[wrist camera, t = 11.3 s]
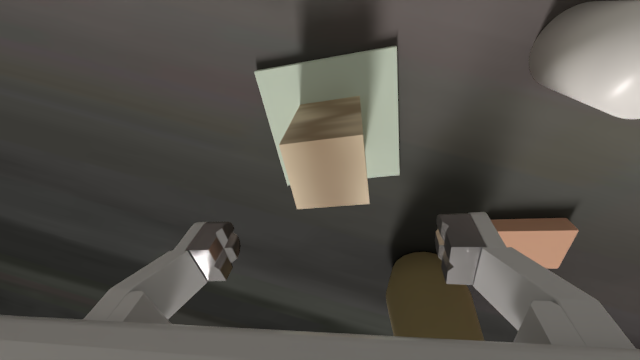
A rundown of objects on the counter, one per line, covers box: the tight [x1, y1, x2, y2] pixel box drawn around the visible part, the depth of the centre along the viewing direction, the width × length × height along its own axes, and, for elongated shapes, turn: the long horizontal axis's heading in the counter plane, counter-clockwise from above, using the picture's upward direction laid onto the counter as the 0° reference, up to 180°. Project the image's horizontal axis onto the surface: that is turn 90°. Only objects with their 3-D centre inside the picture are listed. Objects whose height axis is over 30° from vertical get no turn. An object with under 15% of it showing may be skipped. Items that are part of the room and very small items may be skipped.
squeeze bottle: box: [386, 252, 484, 341], centre depth 22 cm, size 8×8×18 cm
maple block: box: [279, 96, 370, 209], centre depth 18 cm, size 4×4×7 cm
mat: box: [254, 46, 399, 185], centre depth 21 cm, size 10×10×1 cm
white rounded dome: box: [529, 0, 640, 119], centre depth 14 cm, size 5×5×6 cm
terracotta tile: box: [491, 218, 579, 268], centre depth 25 cm, size 7×5×2 cm
